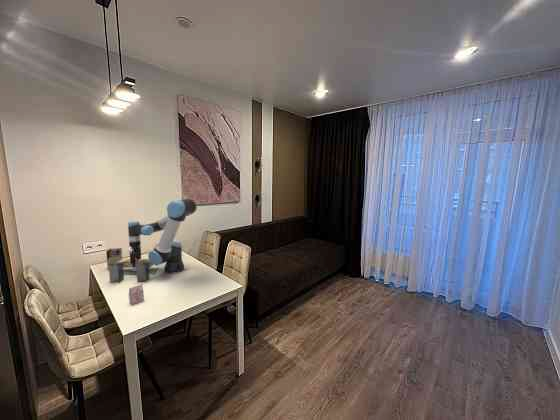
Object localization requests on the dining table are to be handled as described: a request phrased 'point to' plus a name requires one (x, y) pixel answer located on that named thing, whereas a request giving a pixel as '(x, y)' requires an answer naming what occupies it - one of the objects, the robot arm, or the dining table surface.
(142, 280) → the post
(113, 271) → the post
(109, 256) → the coffee box
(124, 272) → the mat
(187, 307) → the dining table surface
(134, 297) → the pink rectangular block
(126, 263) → the rail
